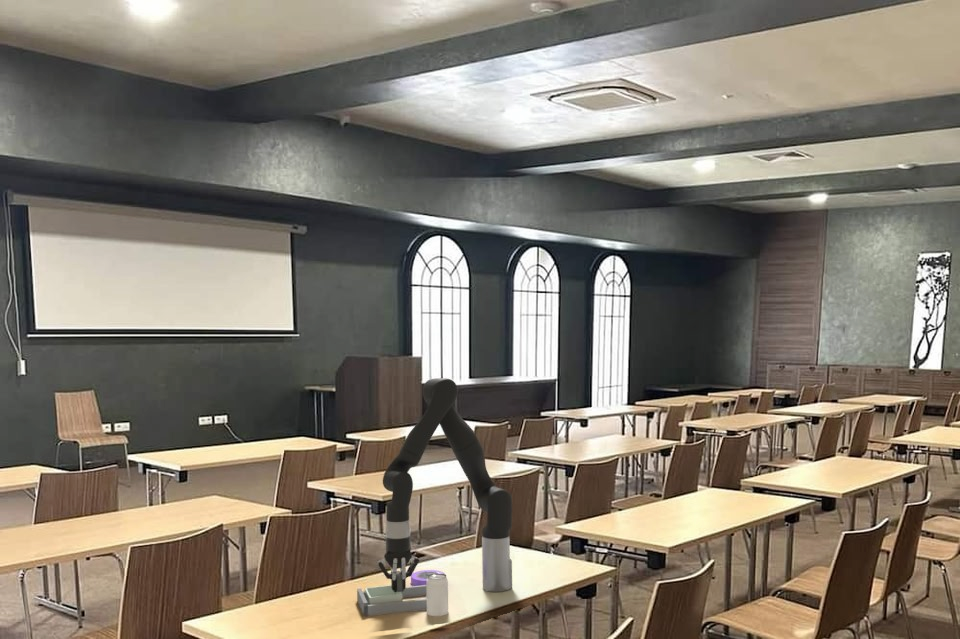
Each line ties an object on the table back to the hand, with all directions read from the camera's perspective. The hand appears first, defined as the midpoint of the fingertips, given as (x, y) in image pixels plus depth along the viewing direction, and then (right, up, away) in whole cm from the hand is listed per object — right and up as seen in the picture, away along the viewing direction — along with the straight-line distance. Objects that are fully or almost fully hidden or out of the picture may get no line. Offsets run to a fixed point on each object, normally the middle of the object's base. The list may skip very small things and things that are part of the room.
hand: (398, 590), depth 236 cm
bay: (0, -5, 0) cm, 5 cm away
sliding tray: (-4, -4, -1) cm, 6 cm away
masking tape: (+8, -6, +22) cm, 24 cm away
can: (+13, -5, -8) cm, 16 cm away
